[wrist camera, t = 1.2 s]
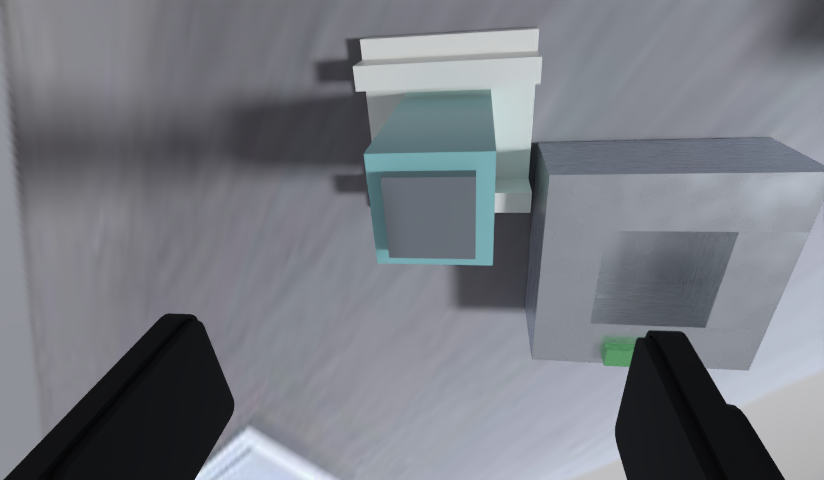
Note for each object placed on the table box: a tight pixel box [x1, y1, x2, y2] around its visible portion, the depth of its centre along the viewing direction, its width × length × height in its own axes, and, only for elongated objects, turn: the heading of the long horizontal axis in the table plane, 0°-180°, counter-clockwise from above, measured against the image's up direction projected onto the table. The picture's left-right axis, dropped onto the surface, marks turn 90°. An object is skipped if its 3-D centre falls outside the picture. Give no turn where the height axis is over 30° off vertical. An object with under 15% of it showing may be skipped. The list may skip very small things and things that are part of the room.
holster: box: [353, 27, 542, 213], centre depth 24 cm, size 10×9×3 cm
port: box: [525, 137, 824, 370], centre depth 25 cm, size 12×12×6 cm
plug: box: [364, 89, 496, 266], centre depth 20 cm, size 4×4×11 cm
